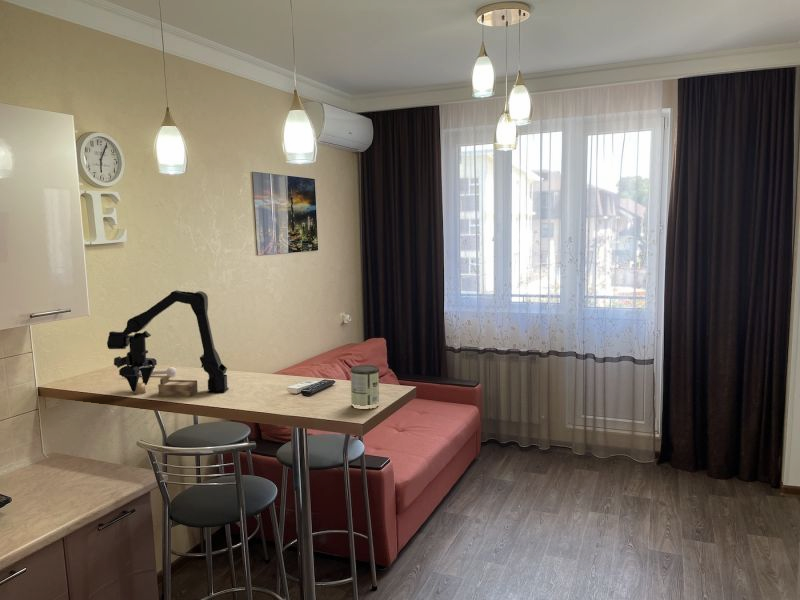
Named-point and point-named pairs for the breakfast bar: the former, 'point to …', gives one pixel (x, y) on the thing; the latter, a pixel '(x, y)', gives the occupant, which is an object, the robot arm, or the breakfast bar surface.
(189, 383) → the lid
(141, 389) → the tan wooden cube
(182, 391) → the box
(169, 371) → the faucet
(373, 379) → the coffee can
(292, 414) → the breakfast bar surface
